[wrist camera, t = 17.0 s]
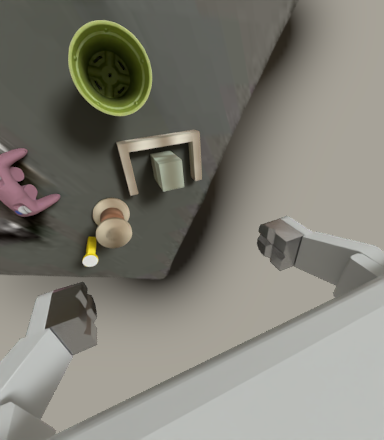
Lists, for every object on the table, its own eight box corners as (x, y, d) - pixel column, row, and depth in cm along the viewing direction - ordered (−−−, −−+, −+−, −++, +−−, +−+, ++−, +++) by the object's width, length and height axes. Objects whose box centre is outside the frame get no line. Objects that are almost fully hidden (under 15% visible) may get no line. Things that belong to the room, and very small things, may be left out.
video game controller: (3, 150, 33) (-38, 169, 28) (26, 144, 32) (-11, 162, 27) (44, 201, 39) (17, 225, 33) (65, 197, 38) (40, 222, 33)
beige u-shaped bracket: (128, 190, 42) (130, 195, 40) (116, 141, 37) (117, 144, 35) (197, 175, 46) (201, 179, 44) (194, 129, 41) (199, 131, 39)
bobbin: (99, 231, 44) (100, 255, 38) (87, 202, 40) (86, 223, 34) (132, 222, 46) (138, 243, 40) (124, 194, 42) (129, 212, 36)
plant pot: (110, 123, 35) (115, 131, 28) (58, 66, 29) (48, 59, 23) (152, 84, 35) (166, 83, 28) (107, 18, 29) (111, -3, 22)
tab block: (154, 178, 43) (163, 191, 37) (149, 153, 40) (158, 164, 35) (172, 174, 44) (184, 186, 39) (169, 150, 41) (181, 160, 36)
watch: (95, 255, 47) (95, 273, 42) (81, 254, 45) (80, 273, 41) (99, 232, 44) (100, 249, 40) (85, 231, 43) (84, 248, 38)
